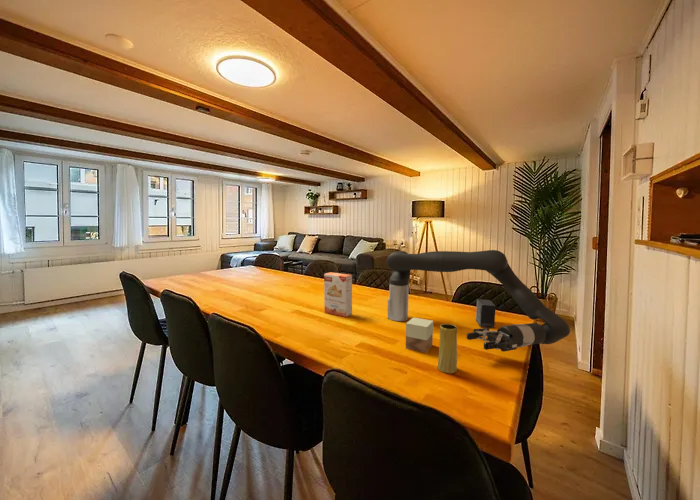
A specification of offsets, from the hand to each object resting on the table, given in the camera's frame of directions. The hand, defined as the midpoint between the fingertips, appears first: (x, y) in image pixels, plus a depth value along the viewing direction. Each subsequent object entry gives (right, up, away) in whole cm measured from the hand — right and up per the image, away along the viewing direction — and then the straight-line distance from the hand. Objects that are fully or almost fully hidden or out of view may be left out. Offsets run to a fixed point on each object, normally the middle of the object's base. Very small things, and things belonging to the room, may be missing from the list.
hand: (475, 341), depth 101 cm
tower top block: (-15, -2, +15) cm, 21 cm away
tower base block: (-15, -7, +16) cm, 23 cm away
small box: (+21, -5, +41) cm, 47 cm away
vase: (-10, -9, -2) cm, 13 cm away
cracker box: (-48, -3, +57) cm, 75 cm away
